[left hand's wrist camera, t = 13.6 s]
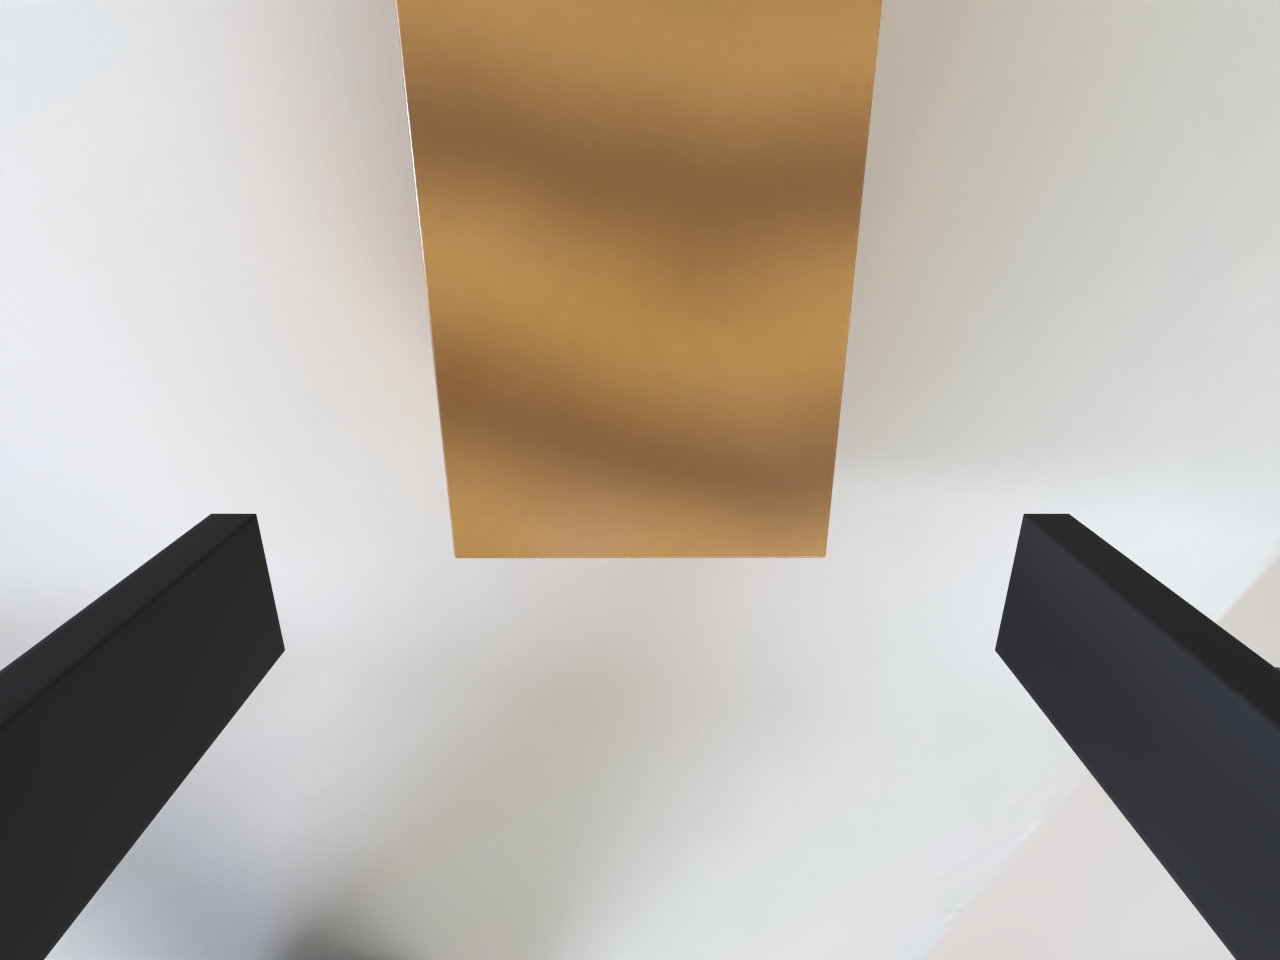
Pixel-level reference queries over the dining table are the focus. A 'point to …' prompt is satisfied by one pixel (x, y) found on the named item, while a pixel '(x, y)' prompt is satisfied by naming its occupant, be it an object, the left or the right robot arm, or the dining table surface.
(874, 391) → the dining table surface
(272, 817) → the dining table surface
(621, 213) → the cabinet
